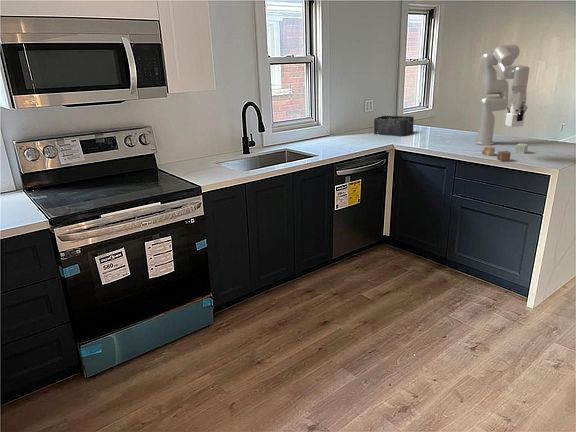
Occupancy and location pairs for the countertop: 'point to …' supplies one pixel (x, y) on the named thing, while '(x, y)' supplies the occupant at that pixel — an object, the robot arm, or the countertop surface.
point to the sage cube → (521, 148)
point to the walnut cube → (503, 156)
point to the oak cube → (488, 150)
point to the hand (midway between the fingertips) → (514, 119)
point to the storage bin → (387, 127)
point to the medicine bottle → (513, 118)
